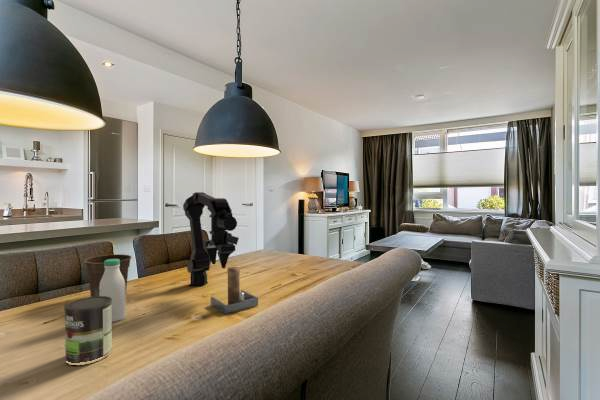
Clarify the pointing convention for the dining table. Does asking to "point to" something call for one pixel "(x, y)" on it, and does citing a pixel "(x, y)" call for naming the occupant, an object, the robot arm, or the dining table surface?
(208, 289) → the dining table surface
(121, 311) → the milk bottle
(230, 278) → the peg
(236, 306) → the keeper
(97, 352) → the coffee can
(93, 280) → the plant pot
